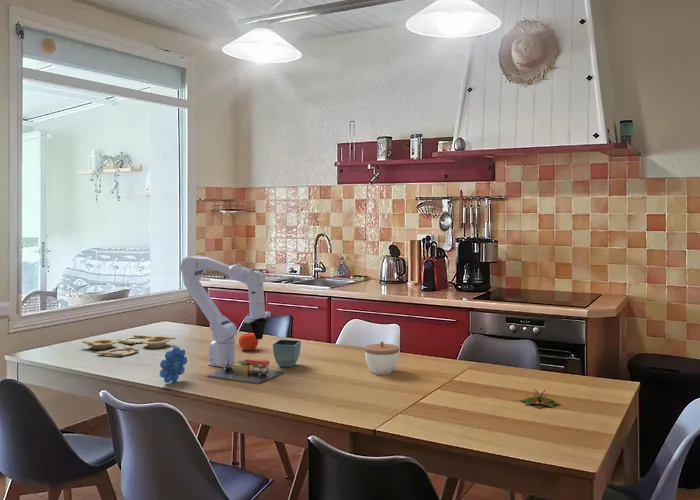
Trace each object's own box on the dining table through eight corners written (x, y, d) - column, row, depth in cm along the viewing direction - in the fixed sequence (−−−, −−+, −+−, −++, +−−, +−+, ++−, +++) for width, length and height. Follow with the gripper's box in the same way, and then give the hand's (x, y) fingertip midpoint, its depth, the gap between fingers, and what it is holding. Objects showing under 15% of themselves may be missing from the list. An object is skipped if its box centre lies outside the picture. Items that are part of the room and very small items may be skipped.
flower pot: (295, 369, 232) (294, 345, 231) (272, 367, 233) (272, 344, 233) (301, 363, 240) (301, 340, 240) (279, 362, 242) (279, 339, 241)
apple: (262, 349, 265) (262, 330, 265) (249, 352, 258) (249, 333, 258) (248, 347, 269) (247, 328, 269) (235, 350, 263) (234, 331, 262)
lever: (238, 363, 224) (238, 358, 224) (244, 362, 226) (244, 356, 226) (264, 367, 218) (264, 362, 218) (270, 365, 221) (270, 360, 221)
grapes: (178, 376, 222) (177, 342, 221) (191, 378, 218) (191, 344, 217) (151, 383, 212) (151, 348, 211) (165, 386, 208) (164, 351, 208)
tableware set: (142, 337, 292) (142, 328, 292) (183, 345, 275) (183, 335, 275) (71, 351, 264) (71, 341, 264) (112, 360, 247) (112, 350, 247)
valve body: (207, 376, 221) (206, 364, 221) (234, 366, 235) (234, 355, 235) (259, 384, 211) (258, 371, 211) (284, 373, 226) (284, 361, 225)
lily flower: (537, 413, 182) (538, 397, 182) (511, 401, 193) (511, 387, 193) (569, 407, 187) (569, 392, 187) (541, 396, 198) (541, 382, 198)
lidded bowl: (404, 369, 230) (404, 340, 229) (391, 378, 219) (391, 346, 218) (372, 366, 235) (372, 337, 235) (359, 374, 224) (359, 343, 223)
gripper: (254, 306, 226) (256, 343, 227) (276, 300, 239) (278, 335, 240) (238, 305, 229) (241, 342, 230) (261, 300, 242) (263, 335, 243)
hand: (259, 339), depth 235 cm, fingers closed
